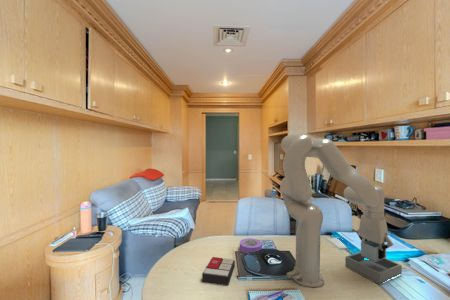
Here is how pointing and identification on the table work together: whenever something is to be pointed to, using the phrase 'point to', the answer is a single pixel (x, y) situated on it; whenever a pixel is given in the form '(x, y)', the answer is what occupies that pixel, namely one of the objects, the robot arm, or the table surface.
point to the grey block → (370, 250)
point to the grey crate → (373, 268)
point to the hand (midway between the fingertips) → (373, 254)
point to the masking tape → (250, 245)
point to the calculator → (218, 271)
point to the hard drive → (337, 243)
